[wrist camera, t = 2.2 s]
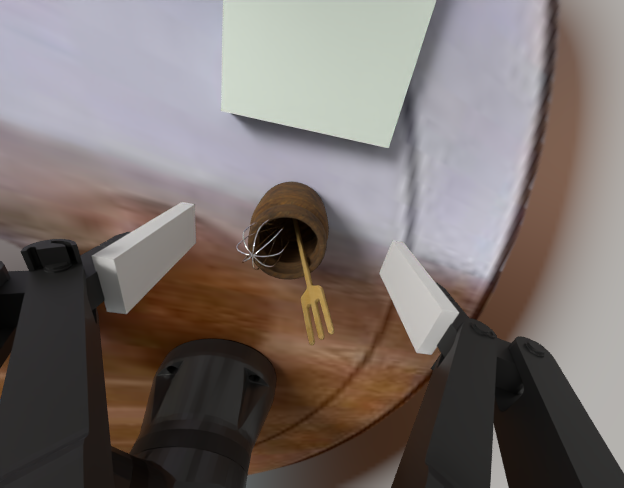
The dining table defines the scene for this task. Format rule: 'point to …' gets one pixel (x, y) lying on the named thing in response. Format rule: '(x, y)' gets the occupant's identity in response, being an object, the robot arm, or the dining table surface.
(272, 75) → the sage board
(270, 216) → the utensil holder
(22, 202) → the dining table surface
